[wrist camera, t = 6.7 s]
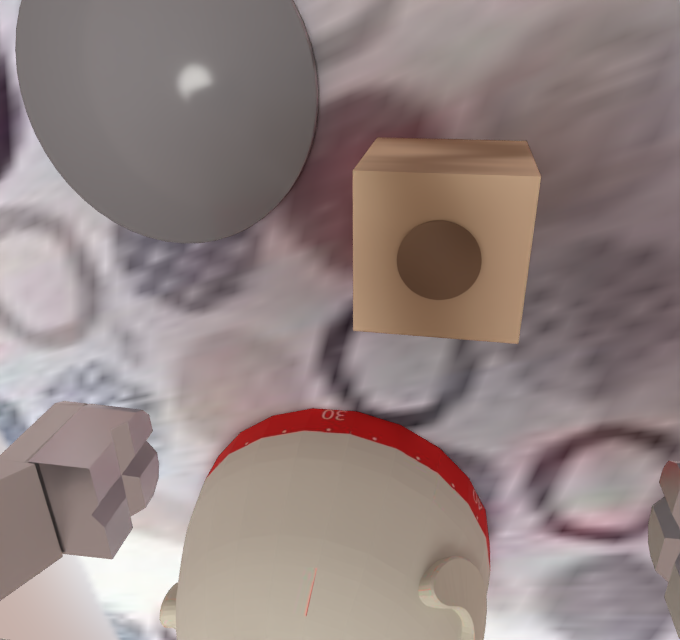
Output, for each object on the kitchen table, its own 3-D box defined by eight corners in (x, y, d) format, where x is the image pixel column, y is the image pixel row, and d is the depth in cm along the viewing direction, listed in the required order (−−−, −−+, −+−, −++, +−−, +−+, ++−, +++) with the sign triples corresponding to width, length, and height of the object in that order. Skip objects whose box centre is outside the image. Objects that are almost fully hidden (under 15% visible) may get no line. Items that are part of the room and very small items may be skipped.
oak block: (526, 140, 20) (541, 177, 16) (509, 278, 23) (518, 345, 18) (377, 137, 21) (352, 171, 17) (375, 270, 23) (352, 332, 19)
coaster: (312, -103, 18) (307, -106, 18) (323, 244, 23) (320, 250, 23) (-10, -85, 20) (-23, -88, 20) (63, 232, 25) (55, 236, 25)
